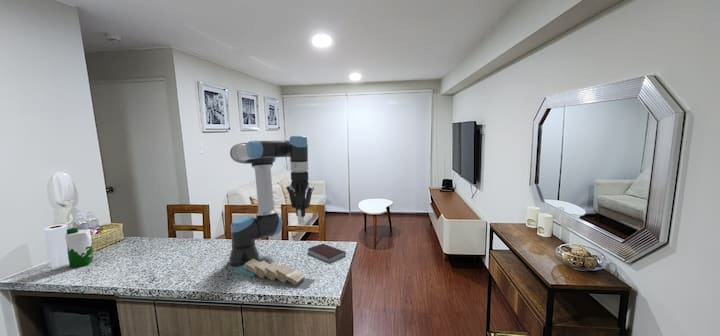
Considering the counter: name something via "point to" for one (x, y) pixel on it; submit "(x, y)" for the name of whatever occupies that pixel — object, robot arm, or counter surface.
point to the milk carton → (79, 247)
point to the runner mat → (302, 285)
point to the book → (326, 252)
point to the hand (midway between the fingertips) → (301, 223)
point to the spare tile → (244, 271)
